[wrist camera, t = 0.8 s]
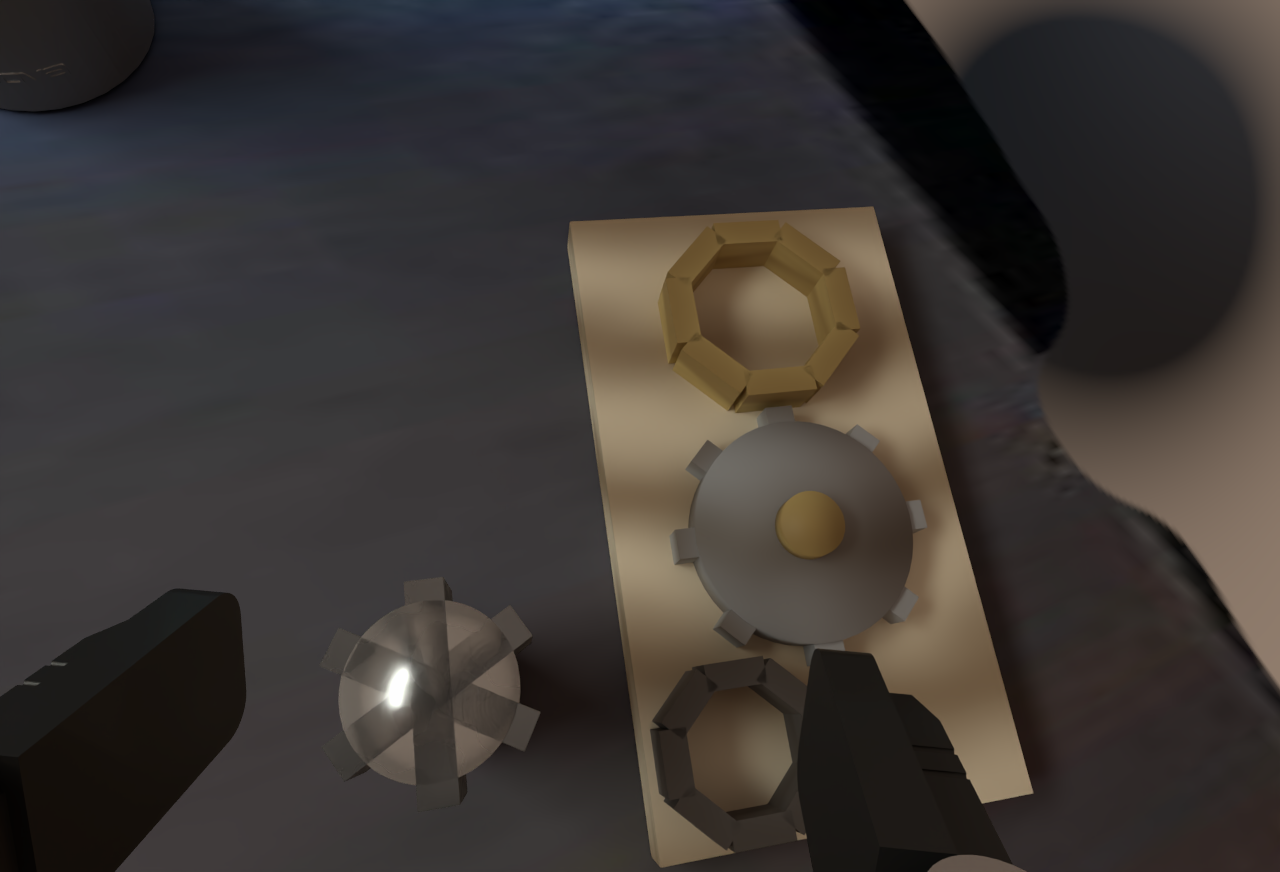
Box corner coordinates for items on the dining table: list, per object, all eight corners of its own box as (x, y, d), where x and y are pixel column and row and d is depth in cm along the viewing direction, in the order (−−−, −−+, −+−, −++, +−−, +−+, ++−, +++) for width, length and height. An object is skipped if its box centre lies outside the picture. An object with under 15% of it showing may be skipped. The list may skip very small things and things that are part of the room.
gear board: (567, 246, 36) (573, 190, 32) (856, 231, 38) (894, 177, 34) (651, 856, 28) (672, 881, 24) (1002, 787, 31) (1072, 800, 27)
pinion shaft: (395, 634, 30) (317, 592, 18) (524, 616, 30) (525, 566, 19) (402, 777, 28) (323, 828, 17) (538, 755, 29) (548, 789, 18)
